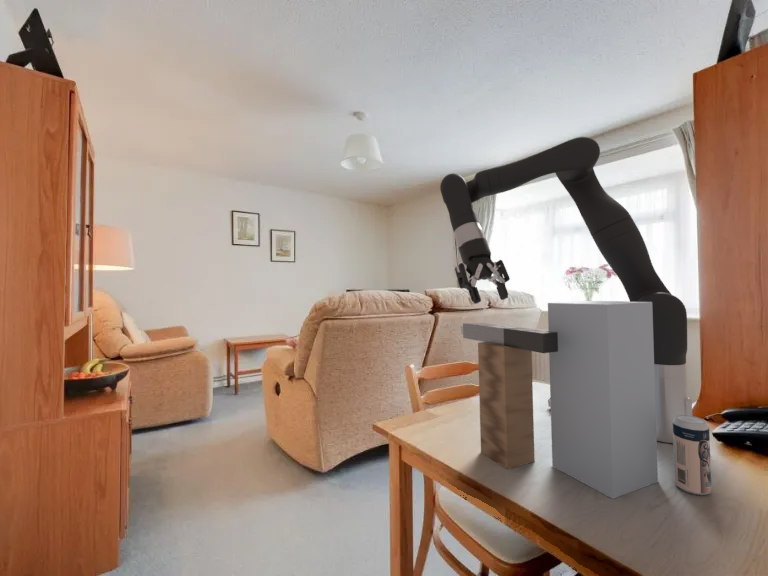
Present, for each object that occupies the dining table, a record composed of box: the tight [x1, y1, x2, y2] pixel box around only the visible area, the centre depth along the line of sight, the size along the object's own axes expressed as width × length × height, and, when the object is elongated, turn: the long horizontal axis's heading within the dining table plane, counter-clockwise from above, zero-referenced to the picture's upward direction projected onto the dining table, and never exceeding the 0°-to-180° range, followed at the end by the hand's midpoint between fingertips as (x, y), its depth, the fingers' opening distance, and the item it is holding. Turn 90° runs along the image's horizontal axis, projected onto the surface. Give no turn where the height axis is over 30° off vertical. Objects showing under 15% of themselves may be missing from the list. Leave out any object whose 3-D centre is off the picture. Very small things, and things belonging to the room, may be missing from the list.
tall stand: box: [547, 300, 659, 500], centre depth 66 cm, size 12×12×32 cm
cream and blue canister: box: [672, 415, 712, 496], centre depth 61 cm, size 5×5×12 cm
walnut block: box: [477, 341, 536, 470], centre depth 74 cm, size 8×7×24 cm
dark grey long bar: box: [460, 321, 558, 354], centre depth 75 cm, size 26×4×4 cm, turn 22°
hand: (491, 300), depth 89 cm, fingers open, 8 cm apart
